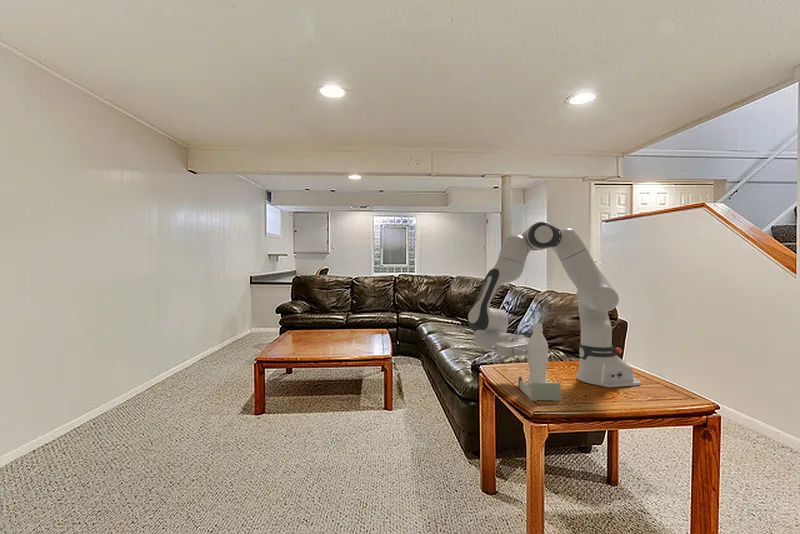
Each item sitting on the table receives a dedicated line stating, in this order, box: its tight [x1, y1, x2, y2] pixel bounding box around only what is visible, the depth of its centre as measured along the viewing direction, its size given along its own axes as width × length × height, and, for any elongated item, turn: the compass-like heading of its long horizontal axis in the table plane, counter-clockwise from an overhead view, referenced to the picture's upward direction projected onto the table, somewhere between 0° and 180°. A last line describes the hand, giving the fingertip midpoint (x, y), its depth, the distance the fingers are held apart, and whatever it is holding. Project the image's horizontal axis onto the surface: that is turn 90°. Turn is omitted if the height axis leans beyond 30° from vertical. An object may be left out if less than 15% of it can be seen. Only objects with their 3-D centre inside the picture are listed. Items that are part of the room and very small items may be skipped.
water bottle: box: [526, 322, 549, 389], centre depth 136 cm, size 7×7×25 cm
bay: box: [518, 376, 562, 402], centre depth 134 cm, size 10×14×6 cm
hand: (534, 351), depth 137 cm, fingers open, 8 cm apart
